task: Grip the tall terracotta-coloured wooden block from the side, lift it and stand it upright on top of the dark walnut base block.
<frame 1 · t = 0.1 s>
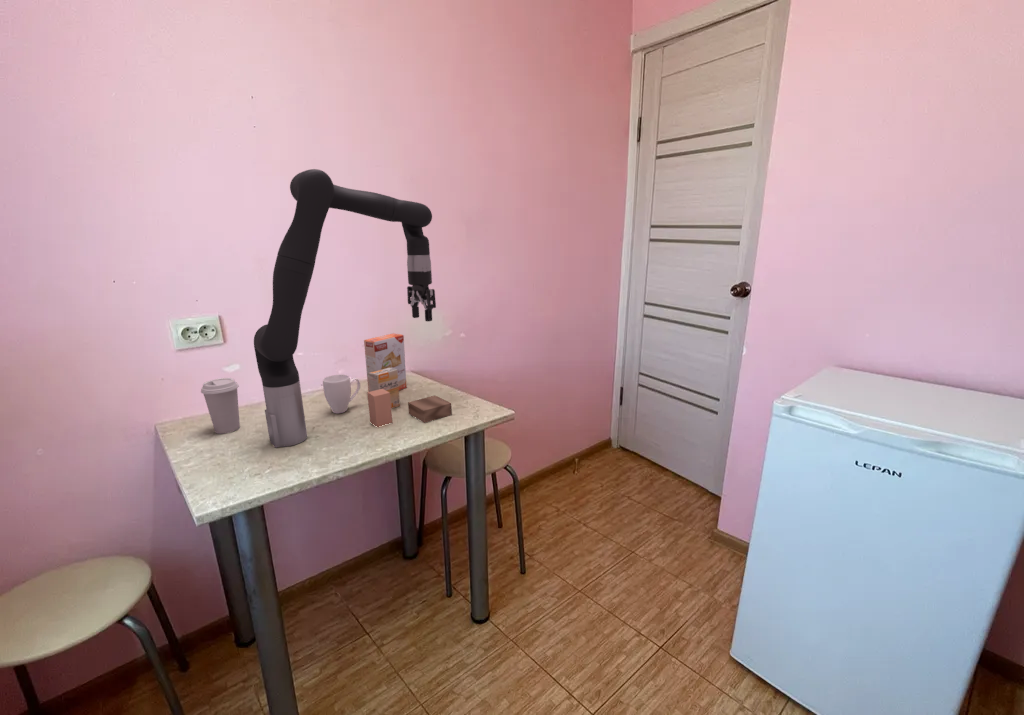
hand: (422, 319, 152), 29 cm above the table, tool pointing down, fingers open, 8 cm apart
coffee cup: (227, 429, 140), on the table
cracker box: (388, 392, 171), on the table
terracotta block: (381, 423, 143), on the table
mug: (345, 410, 154), on the table
walnut base: (430, 414, 149), on the table
supplement box: (386, 408, 155), on the table
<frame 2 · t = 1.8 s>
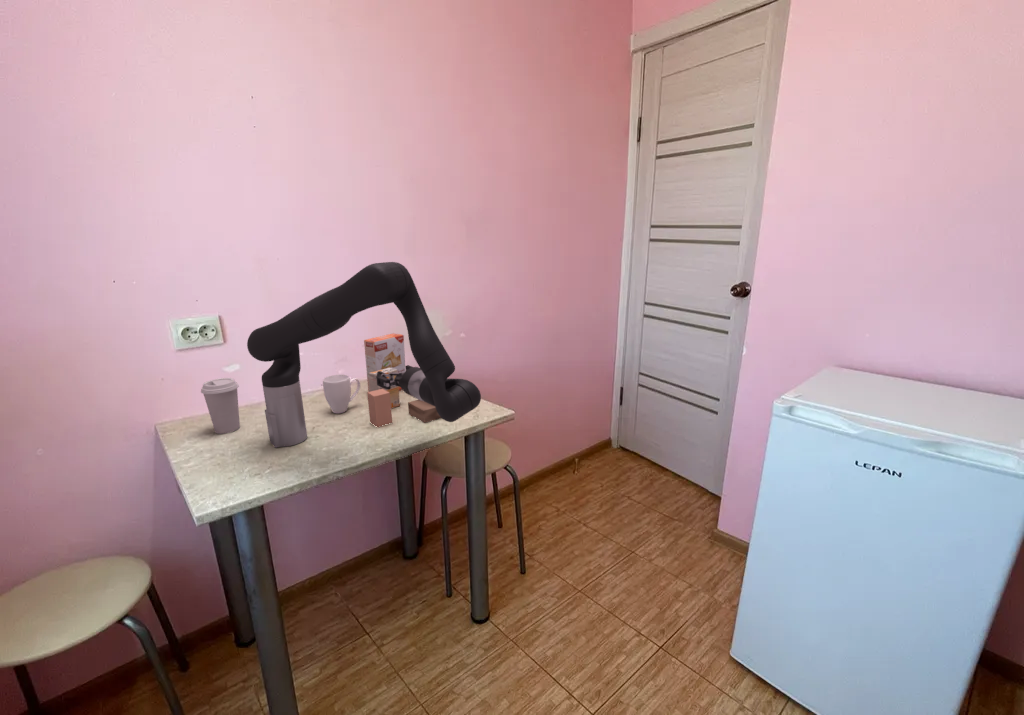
hand: (393, 371, 130), 19 cm above the table, tool horizontal, fingers open, 8 cm apart
nothing on the table moved.
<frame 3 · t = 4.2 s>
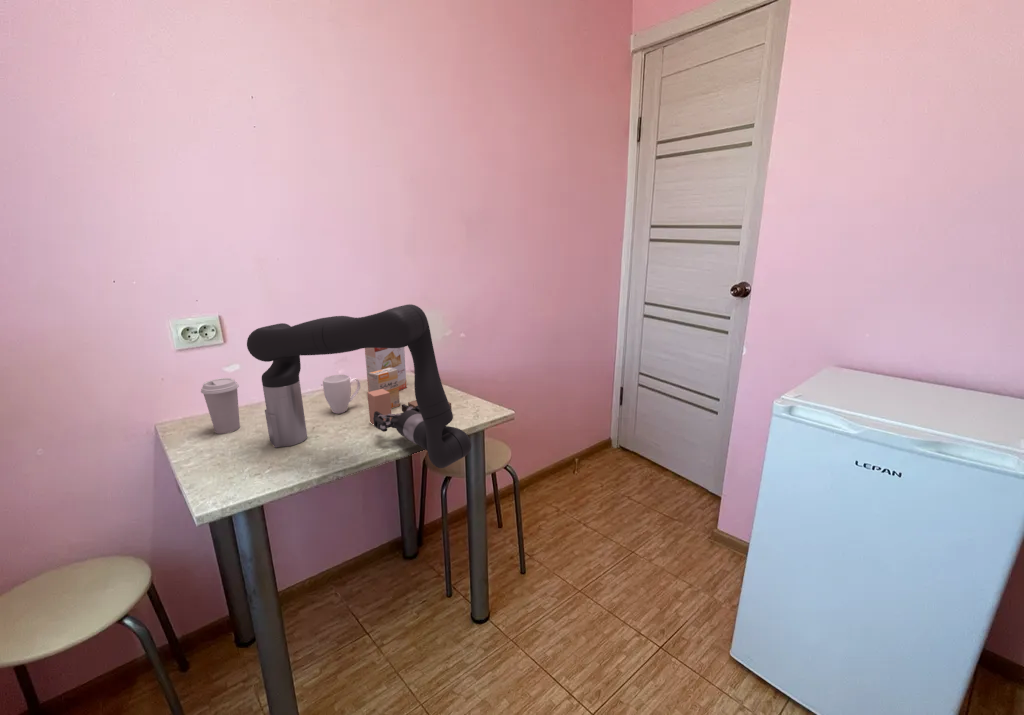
hand: (389, 410, 136), 6 cm above the table, tool horizontal, fingers open, 8 cm apart
nothing on the table moved.
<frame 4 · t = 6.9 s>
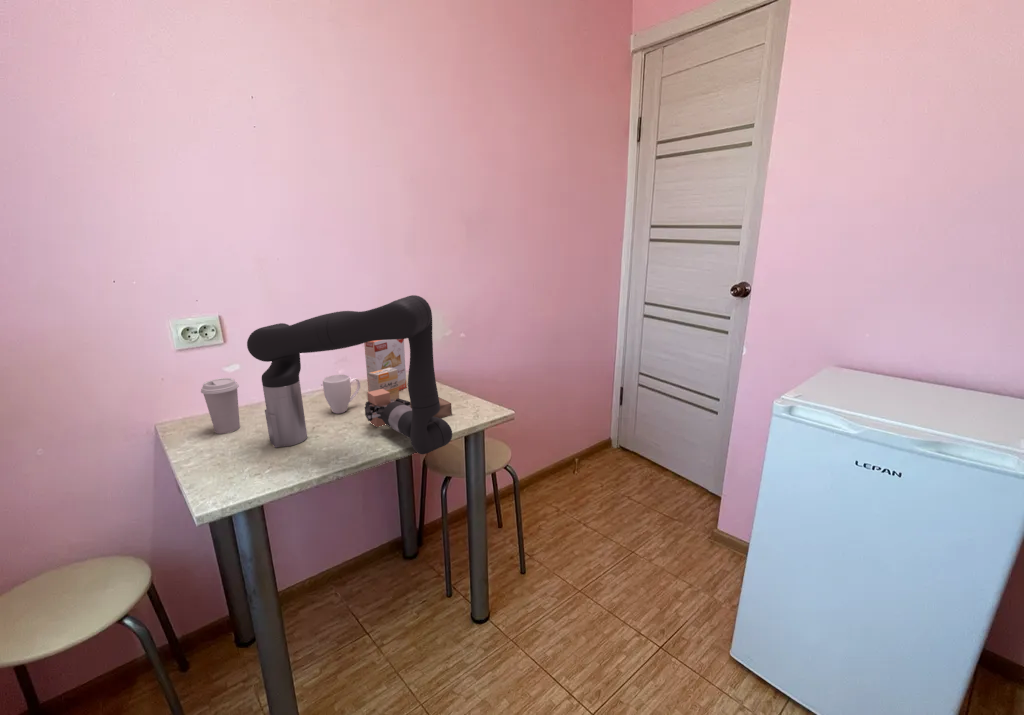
hand: (375, 402, 143), 6 cm above the table, tool horizontal, fingers closed on terracotta block, 5 cm apart
terracotta block: (381, 423, 143), on the table, touching gripper
everything else where it was.
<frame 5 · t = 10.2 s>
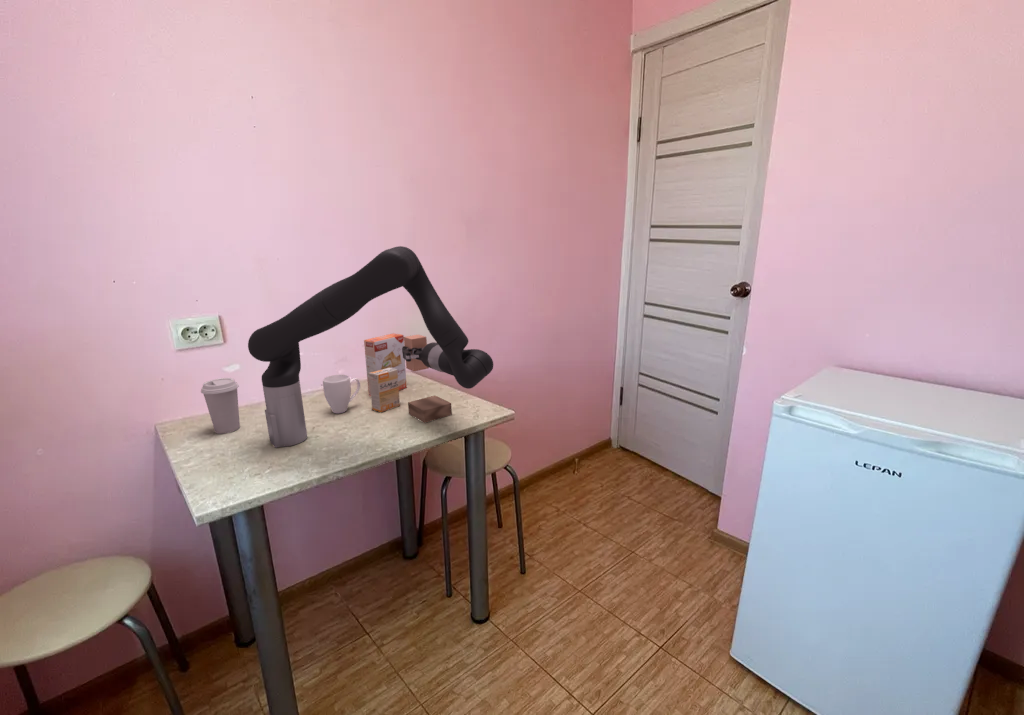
hand: (411, 348, 144), 22 cm above the table, tool horizontal, fingers closed on terracotta block, 5 cm apart
terracotta block: (417, 368, 143), point 16 cm above the table, touching gripper
everything else where it was.
when the fingers open (11 cm above the table, at t = 13.7 s): terracotta block stays where it is, resting on walnut base.
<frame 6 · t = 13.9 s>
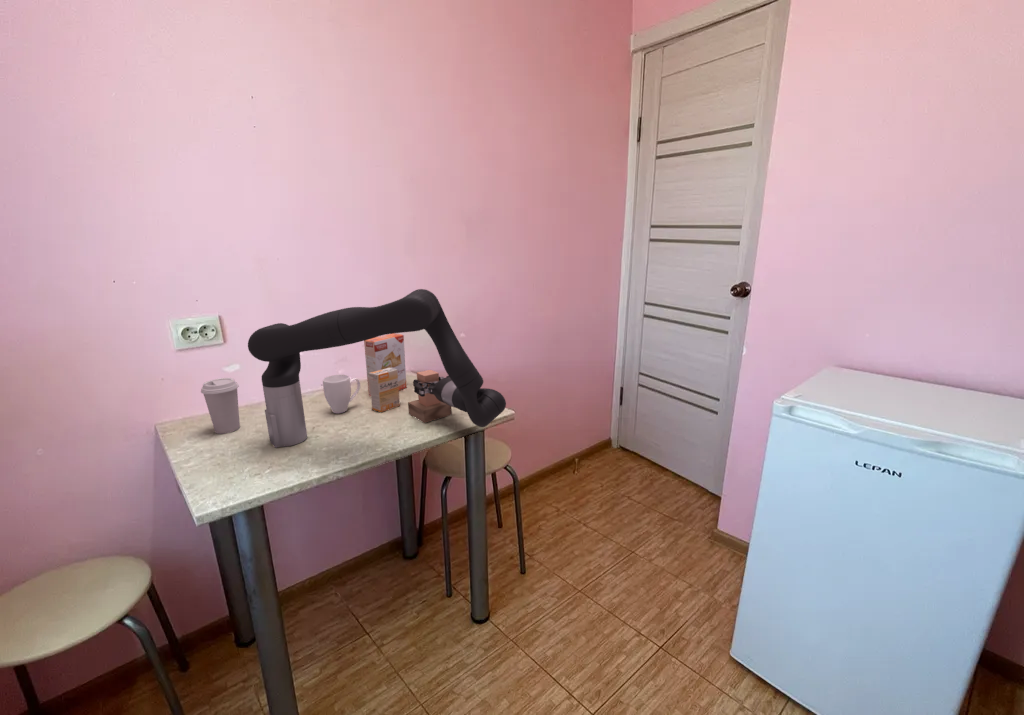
hand: (424, 380, 148), 11 cm above the table, tool horizontal, fingers open, 6 cm apart
terracotta block: (429, 402, 148), point 4 cm above the table, touching walnut base
everything else where it was.
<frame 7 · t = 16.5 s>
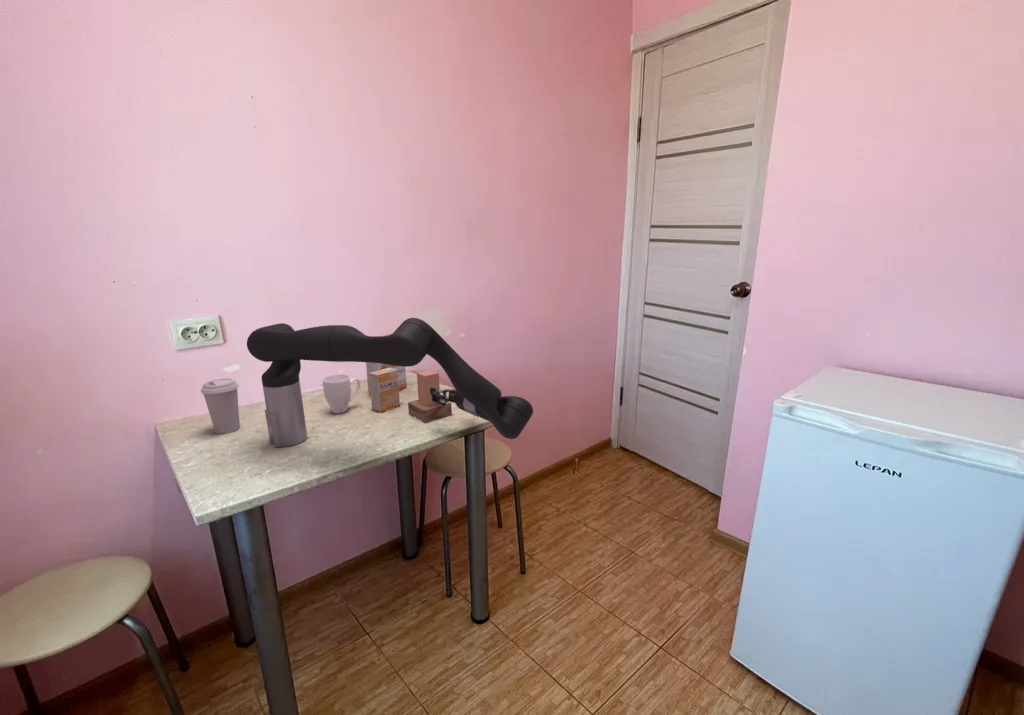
hand: (443, 387, 140), 11 cm above the table, tool horizontal, fingers open, 8 cm apart
nothing on the table moved.
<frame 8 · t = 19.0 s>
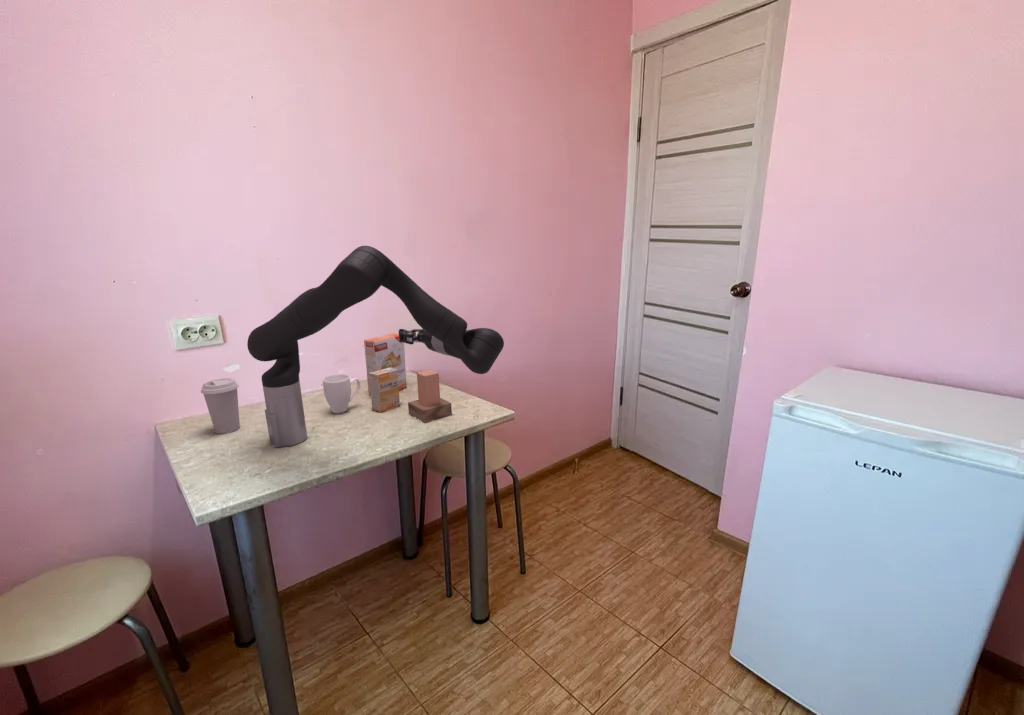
hand: (414, 330, 131), 30 cm above the table, tool horizontal, fingers open, 8 cm apart
nothing on the table moved.
at the end: terracotta block 0.0 cm off-centre on the walnut base, point 4.0 cm above the walnut base's base; terracotta block tilted 0°; the gripper is holding nothing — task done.
